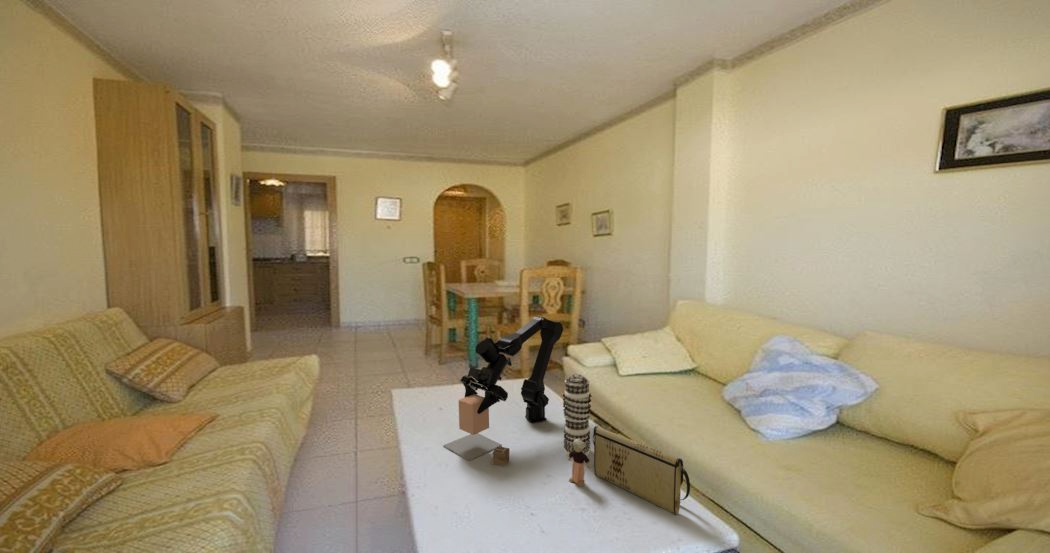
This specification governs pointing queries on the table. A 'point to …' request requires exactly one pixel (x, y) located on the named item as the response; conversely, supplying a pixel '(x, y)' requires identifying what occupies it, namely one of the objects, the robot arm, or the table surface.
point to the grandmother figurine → (578, 462)
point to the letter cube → (501, 456)
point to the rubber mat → (472, 446)
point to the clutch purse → (639, 469)
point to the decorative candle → (576, 412)
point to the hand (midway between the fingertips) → (470, 410)
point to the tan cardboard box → (472, 415)
